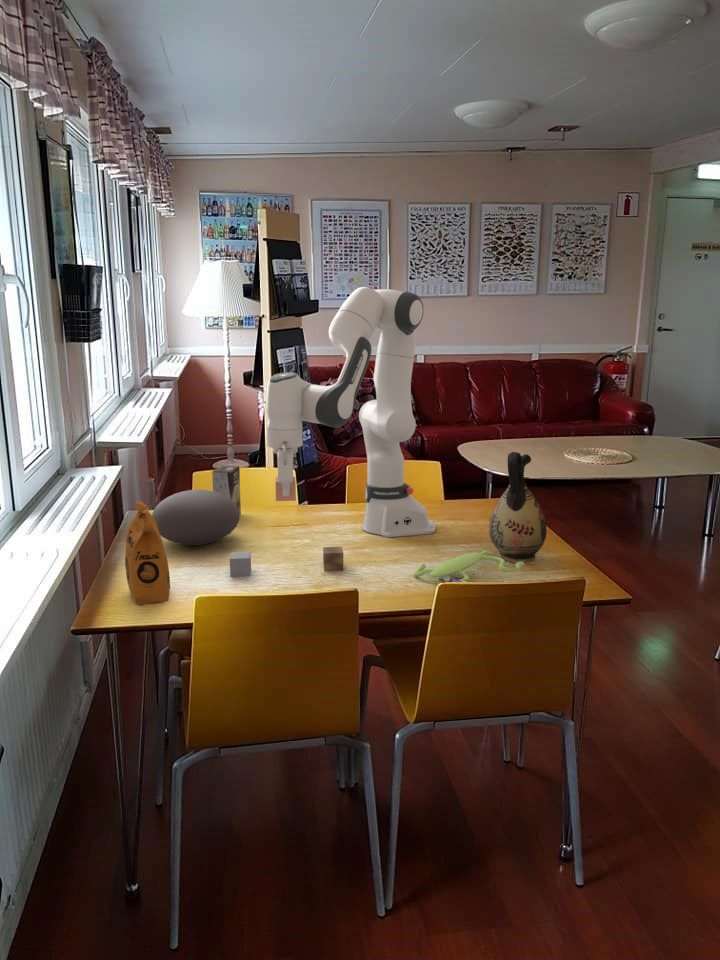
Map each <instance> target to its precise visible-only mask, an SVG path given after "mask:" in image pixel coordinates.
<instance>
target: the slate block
mask: <svg viewBox="0 0 720 960" xmlns="http://www.w3.org/2000/svg"><path fill="white" fill-rule="evenodd" d="M251 554H252V553H251V551H232V552H231V551H230V556H229V572H230V573H229V574H230V575H229V577H230V578H240V577H241V578H242V577H249V578H250V577H251V574H252V558H251V556H252V555H251Z"/></svg>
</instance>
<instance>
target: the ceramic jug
mask: <svg viewBox="0 0 720 960" xmlns="http://www.w3.org/2000/svg"><path fill="white" fill-rule="evenodd" d="M531 462H532V458H531V456H530V455H529V454H526V453H525V454H523V455H521V453H520V452H517V451H512V452H510V453H508V455H507V473H508V479H509V484H508V487H507V488H506V489H505V490H504V492H503V493H502V495H501V496H500V497H499V499H498V500H497V503H496V504H495V506H494V508H493V509H492V511H491V514H490V518H489V524H488V534H489V538H490V540H491V543H492V544H493V546H494V547H495V548H496V549H497V551H498V553H499V554H500V555H499V556H500V558H502V559H504V560H505V561H507V562H509V563H517V562H524V563H525V562H532V561H534V560H535V559H536V554H537V553H538V552H539V551H540V550H541V548H542V547H543V546H544V544H545V541H546V538H547V534H548V530H547V523H546V518H545V514H544V512H543V510H542V507H541V506H540V503H539V502H538V501H537V499H536V497H535V495H534V494H533V492H532V491H531V490H530V489H529V488H528V486H527V484H526V482H525V468H526V465H528V464H530V463H531Z"/></svg>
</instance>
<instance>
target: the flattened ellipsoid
mask: <svg viewBox="0 0 720 960" xmlns="http://www.w3.org/2000/svg"><path fill="white" fill-rule="evenodd" d="M151 515H152V516H153V518H154V520H155V521H156V523H157V527H158V530H159V533H160V535H161V538H164V539H165V540H167V541H169V542H172V543H176V544H179V545H186V546H198V545H207V544H211V543H215V542H216V541H220V540H223V539H224V538H226V537H227V536H228V535H230V534H231V533H233V531H235V529H236V528H237V526H238V524H239V523H240V520H241V519H240V518H241V514H240V512H239V509H238V507H237V505H236V504H235V503H234V502H233V501H232V500H231V499H230V498H228V497H227V496H225V495H223V494H220V493H217V492H214V491H213V490H208V489H188V490H184V491H180V492H177V493H174V494H172V495H169V496H167V497H166V498H164V499H163V500H161V501H160V502H159V503H158V504H156V506H155V508H154V509H153V511H152V513H151Z"/></svg>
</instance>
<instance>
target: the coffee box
mask: <svg viewBox="0 0 720 960" xmlns="http://www.w3.org/2000/svg"><path fill="white" fill-rule="evenodd" d="M240 470H241V469H240V466H238V465H237V466H236V465H221V466H219V467H217V468H216V469H214V470H212V471H211V473H212V474H211V475H212V491H214V492H217V493H220V494H223V495H225V496H227V497H228V498H230V499H231V500H232V501H233V502H234V503H235V504H236V505H237V507H238V509H239V512H240V515H241V513H242V512H241V511H242V507H241V505H242V504H241V501H242V500H241V477H240V475H241V472H240Z"/></svg>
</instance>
